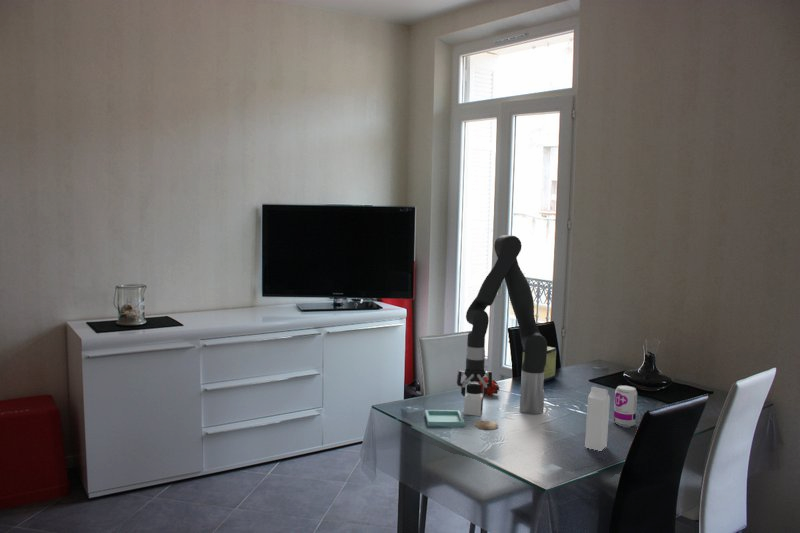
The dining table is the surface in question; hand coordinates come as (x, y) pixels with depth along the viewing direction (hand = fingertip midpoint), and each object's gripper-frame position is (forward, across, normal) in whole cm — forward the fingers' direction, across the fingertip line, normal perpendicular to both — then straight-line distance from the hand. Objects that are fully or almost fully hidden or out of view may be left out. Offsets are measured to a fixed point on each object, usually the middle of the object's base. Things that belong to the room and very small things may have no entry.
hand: (473, 395), depth 271 cm
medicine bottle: (+7, 0, 0) cm, 7 cm away
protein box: (+8, -41, -53) cm, 67 cm away
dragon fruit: (+8, -11, -26) cm, 29 cm away
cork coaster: (+7, -3, +15) cm, 17 cm away
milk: (+8, -39, +36) cm, 54 cm away
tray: (+7, +13, +10) cm, 18 cm away
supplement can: (+8, -59, +11) cm, 60 cm away
